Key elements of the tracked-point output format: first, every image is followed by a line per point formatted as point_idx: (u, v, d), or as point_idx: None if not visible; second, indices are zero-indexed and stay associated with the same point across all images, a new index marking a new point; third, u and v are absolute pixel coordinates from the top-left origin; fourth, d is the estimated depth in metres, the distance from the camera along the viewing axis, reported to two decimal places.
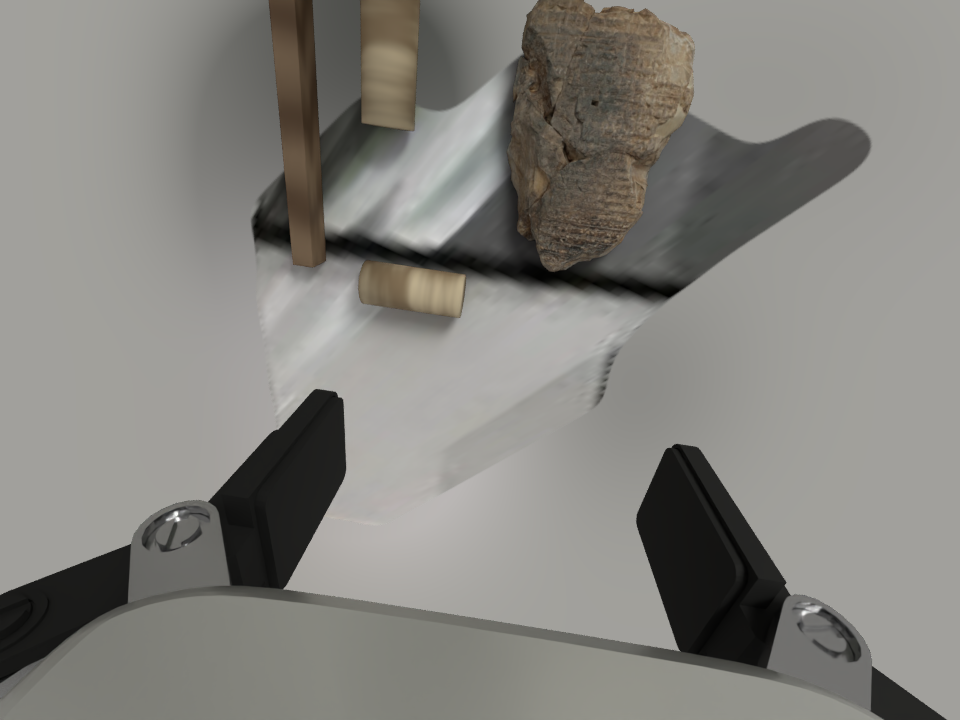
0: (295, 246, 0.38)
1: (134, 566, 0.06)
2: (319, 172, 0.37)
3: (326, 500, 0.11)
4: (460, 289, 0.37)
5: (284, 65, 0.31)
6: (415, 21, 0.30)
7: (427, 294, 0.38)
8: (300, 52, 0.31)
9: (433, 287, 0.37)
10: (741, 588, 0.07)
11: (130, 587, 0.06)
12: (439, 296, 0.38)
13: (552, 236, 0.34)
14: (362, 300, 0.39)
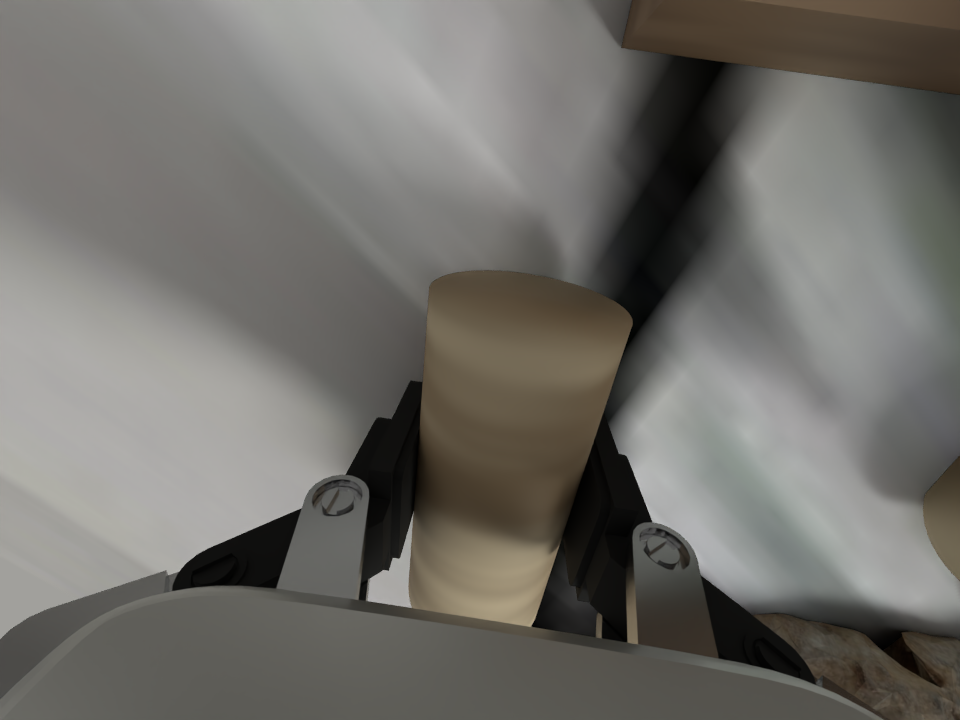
0: None
1: (301, 519, 0.07)
2: None
3: None
4: None
5: None
6: None
7: (495, 585, 0.10)
8: None
9: (519, 593, 0.10)
10: (605, 518, 0.08)
11: (294, 536, 0.07)
12: (488, 613, 0.10)
13: None
14: (453, 325, 0.07)
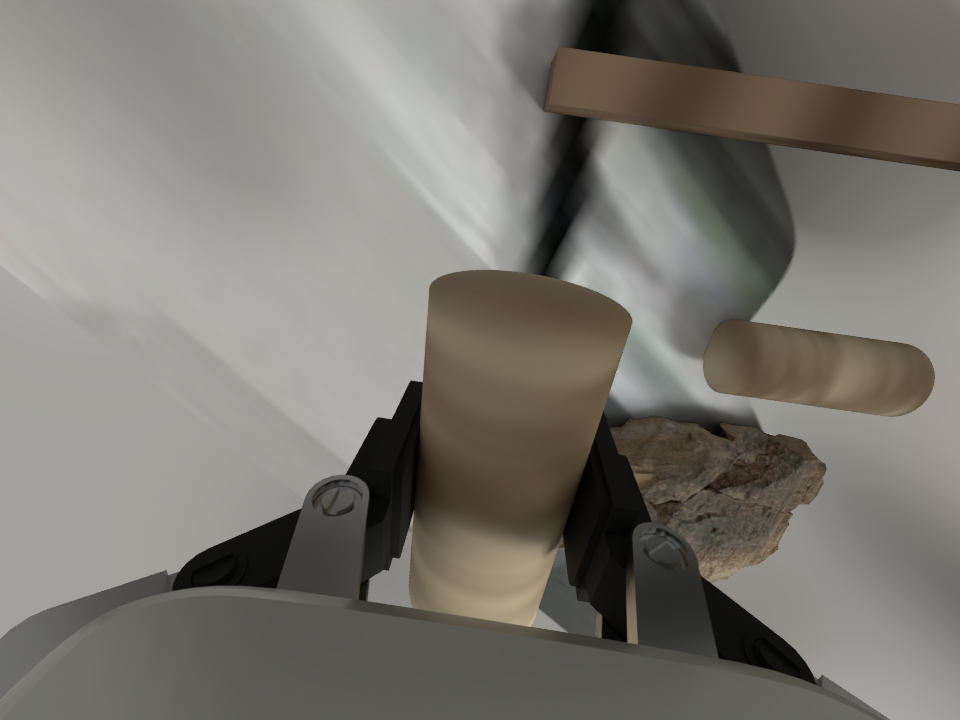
0: (599, 65, 0.16)
1: (301, 518, 0.07)
2: (711, 134, 0.19)
3: None
4: None
5: (928, 124, 0.17)
6: None
7: (495, 584, 0.10)
8: (924, 158, 0.18)
9: (520, 592, 0.10)
10: (605, 518, 0.08)
11: (294, 536, 0.07)
12: (488, 612, 0.10)
13: None
14: (454, 325, 0.07)
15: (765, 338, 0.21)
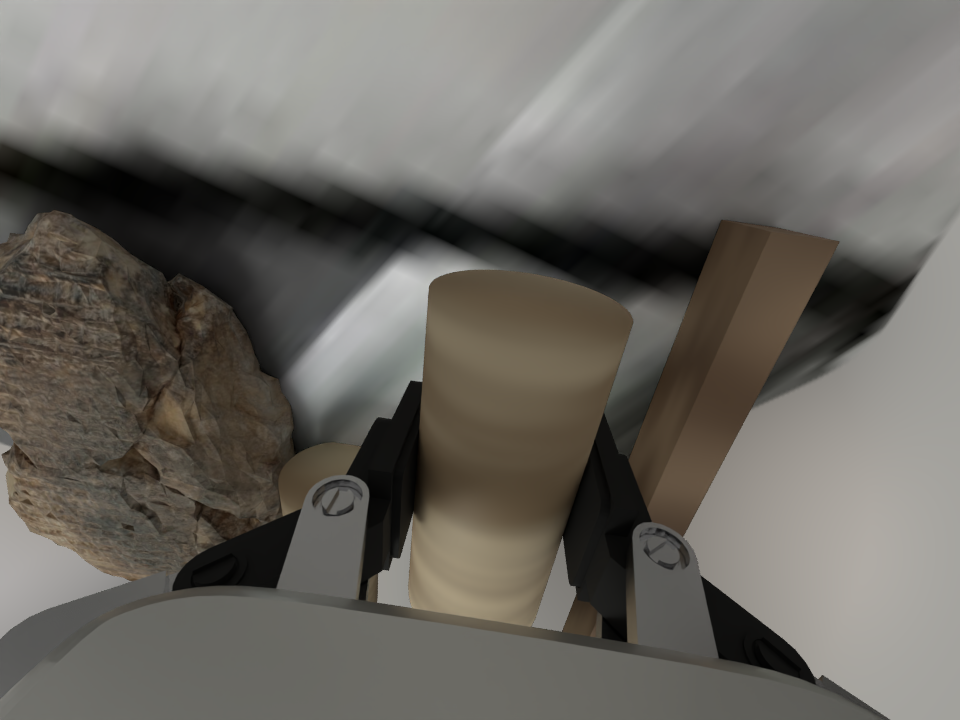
0: (794, 299, 0.12)
1: (301, 518, 0.07)
2: (648, 418, 0.17)
3: None
4: None
5: None
6: (376, 574, 0.21)
7: (495, 586, 0.10)
8: None
9: (520, 594, 0.10)
10: (605, 518, 0.08)
11: (294, 536, 0.07)
12: (488, 614, 0.10)
13: (80, 320, 0.13)
14: (453, 325, 0.07)
15: None
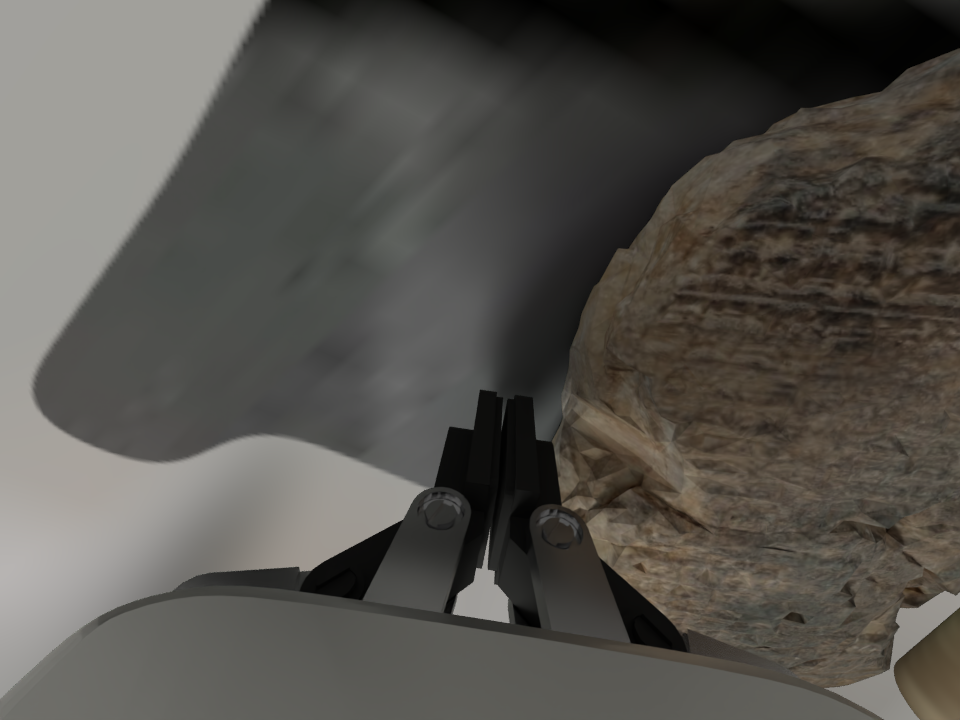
0: None
1: (405, 522, 0.07)
2: None
3: None
4: None
5: None
6: (937, 641, 0.16)
7: None
8: None
9: None
10: (510, 501, 0.08)
11: (395, 538, 0.07)
12: None
13: None
14: None
15: None
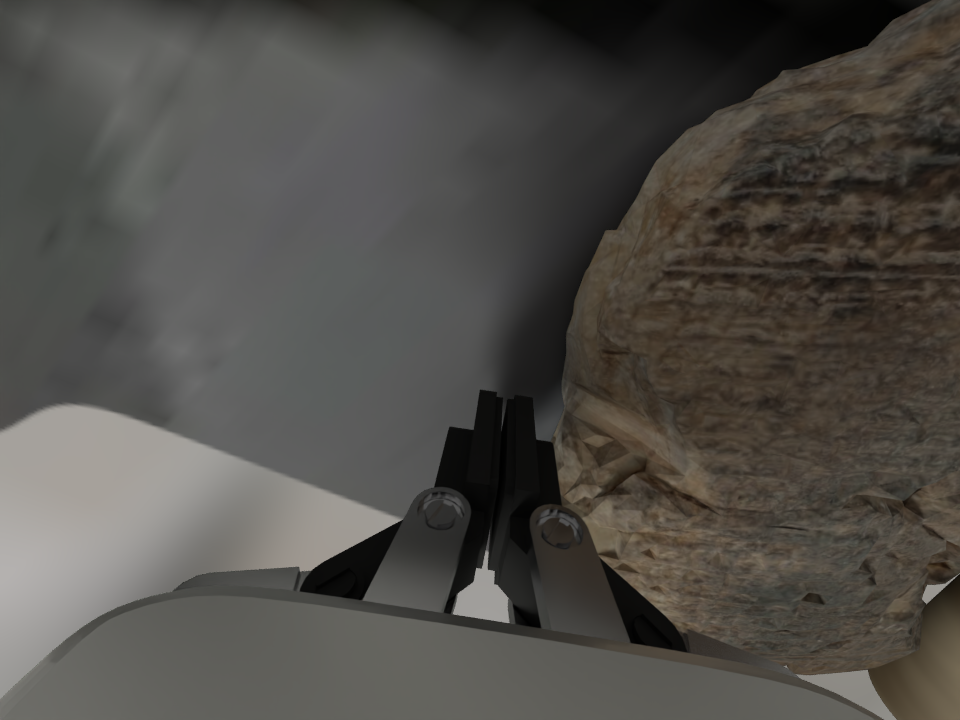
0: None
1: (405, 522, 0.07)
2: None
3: None
4: None
5: None
6: None
7: None
8: None
9: None
10: (510, 501, 0.08)
11: (395, 537, 0.07)
12: None
13: None
14: None
15: None
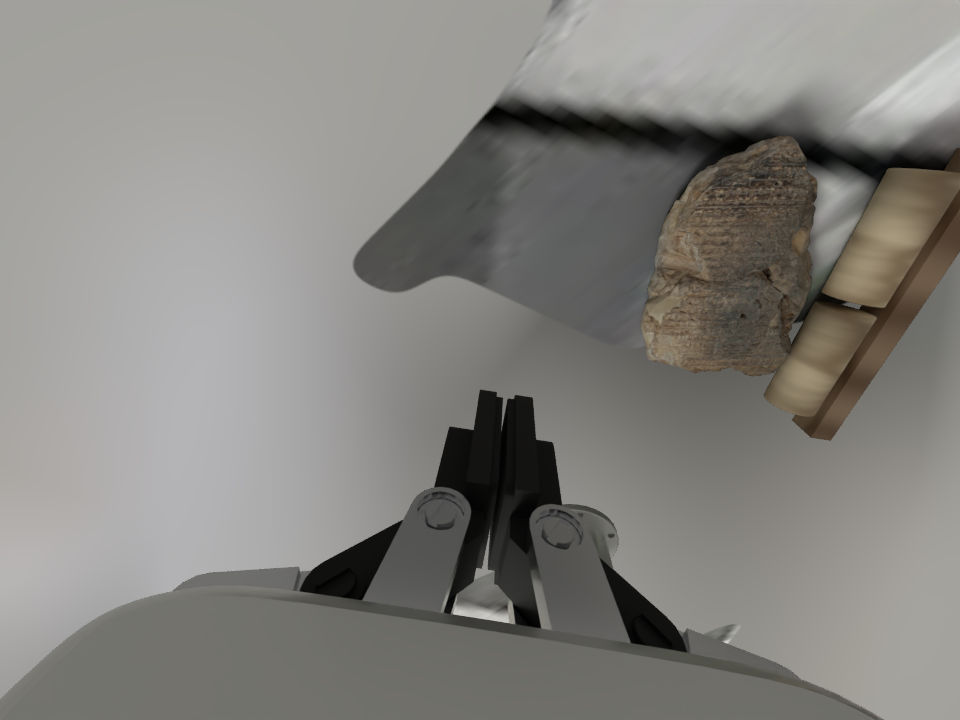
0: None
1: (405, 522, 0.07)
2: None
3: None
4: None
5: (880, 352, 0.35)
6: (829, 390, 0.36)
7: None
8: (856, 359, 0.36)
9: None
10: (511, 501, 0.08)
11: (395, 537, 0.07)
12: None
13: (793, 185, 0.29)
14: None
15: (816, 315, 0.35)
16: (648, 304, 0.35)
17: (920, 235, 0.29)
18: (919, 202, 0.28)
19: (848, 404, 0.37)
